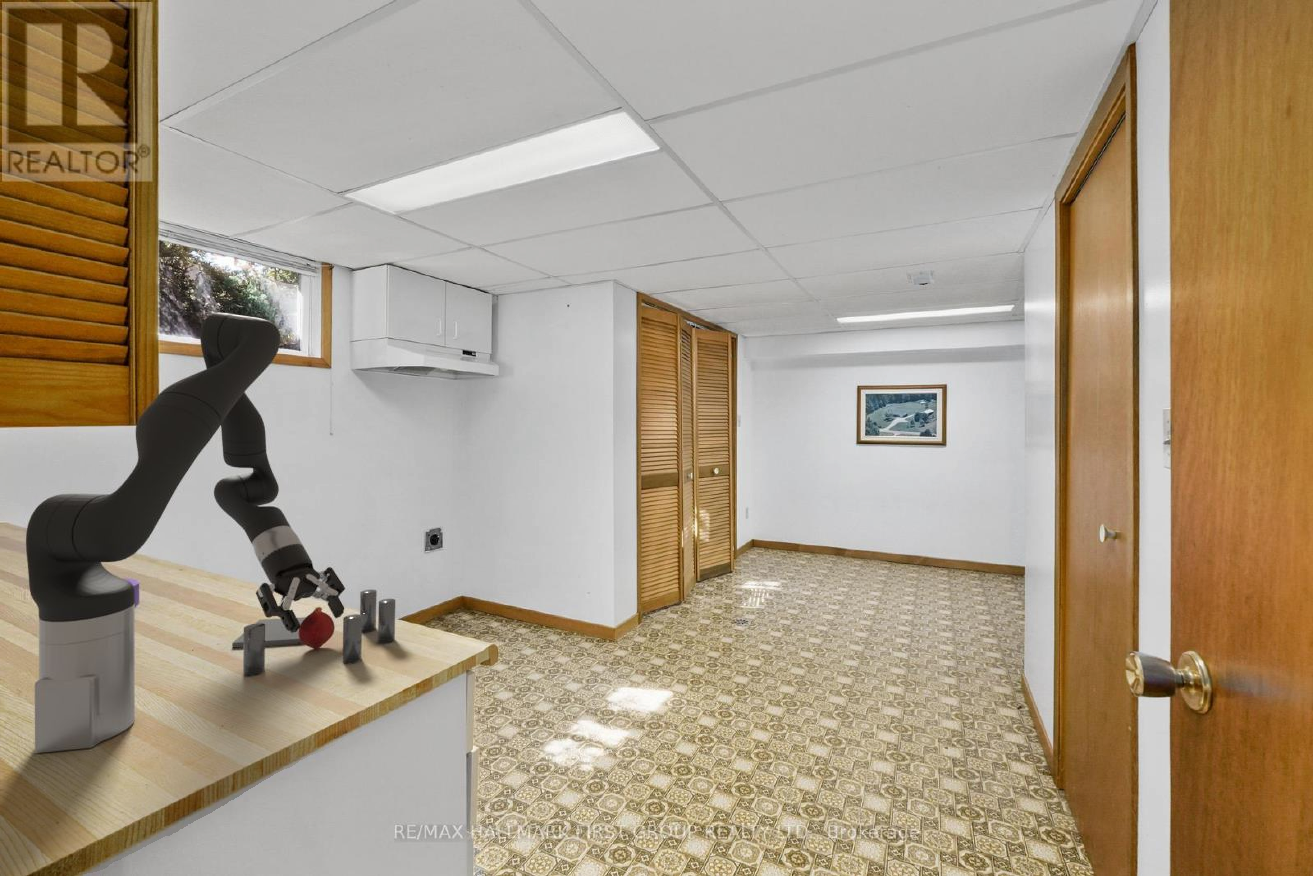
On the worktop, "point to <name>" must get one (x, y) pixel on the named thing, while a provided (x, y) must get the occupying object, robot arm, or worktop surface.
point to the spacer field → (351, 632)
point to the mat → (274, 634)
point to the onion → (316, 629)
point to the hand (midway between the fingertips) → (319, 622)
